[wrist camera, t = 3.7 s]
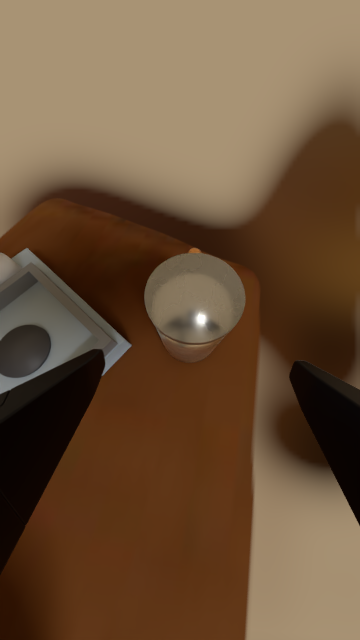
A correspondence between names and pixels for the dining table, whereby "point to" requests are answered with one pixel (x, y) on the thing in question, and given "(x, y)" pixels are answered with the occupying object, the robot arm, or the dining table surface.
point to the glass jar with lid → (193, 303)
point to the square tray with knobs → (45, 322)
